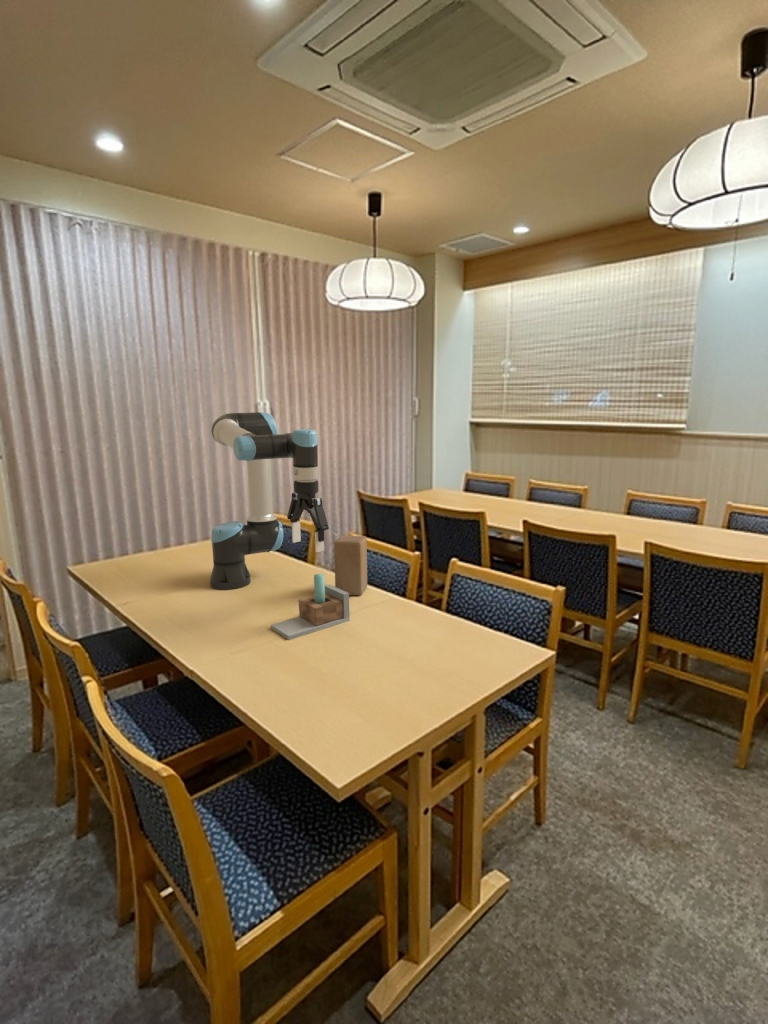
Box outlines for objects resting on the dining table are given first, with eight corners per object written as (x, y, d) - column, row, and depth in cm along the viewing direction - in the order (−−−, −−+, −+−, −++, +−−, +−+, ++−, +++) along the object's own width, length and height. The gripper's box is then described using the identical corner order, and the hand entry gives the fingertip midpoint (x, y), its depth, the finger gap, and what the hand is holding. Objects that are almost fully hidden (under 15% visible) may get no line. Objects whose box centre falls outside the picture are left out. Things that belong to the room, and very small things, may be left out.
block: (361, 596, 196) (360, 542, 192) (334, 594, 198) (333, 541, 194) (368, 587, 205) (367, 535, 201) (342, 585, 207) (340, 534, 203)
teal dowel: (321, 614, 176) (320, 573, 173) (327, 617, 174) (326, 575, 171) (313, 617, 174) (311, 575, 171) (319, 620, 172) (317, 577, 169)
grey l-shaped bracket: (270, 628, 169) (269, 600, 167) (330, 610, 183) (329, 584, 181) (288, 639, 161) (287, 610, 159) (349, 620, 174) (348, 593, 173)
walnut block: (299, 616, 174) (298, 599, 173) (325, 608, 181) (325, 592, 180) (316, 625, 167) (315, 608, 166) (343, 617, 173) (342, 600, 172)
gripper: (275, 476, 176) (277, 540, 180) (318, 486, 157) (319, 557, 162) (295, 474, 180) (297, 536, 185) (339, 484, 162) (340, 553, 166)
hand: (307, 546), depth 173 cm, fingers open, 13 cm apart
